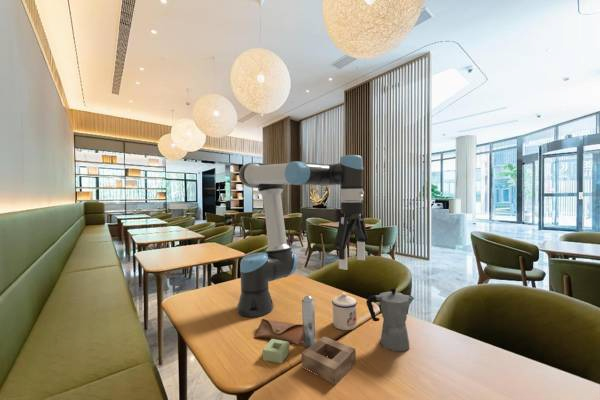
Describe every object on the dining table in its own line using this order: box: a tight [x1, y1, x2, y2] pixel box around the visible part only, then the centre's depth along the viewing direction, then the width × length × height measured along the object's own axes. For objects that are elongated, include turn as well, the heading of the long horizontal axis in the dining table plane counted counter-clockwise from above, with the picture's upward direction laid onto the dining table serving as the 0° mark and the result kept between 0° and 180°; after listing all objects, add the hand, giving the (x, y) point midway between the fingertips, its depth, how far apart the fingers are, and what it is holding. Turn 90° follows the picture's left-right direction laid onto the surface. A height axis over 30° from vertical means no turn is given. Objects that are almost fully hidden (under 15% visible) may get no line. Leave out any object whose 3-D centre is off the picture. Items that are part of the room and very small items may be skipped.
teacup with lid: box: [331, 292, 358, 331], centre depth 95 cm, size 12×9×12 cm
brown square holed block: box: [301, 336, 357, 386], centre depth 72 cm, size 11×11×4 cm
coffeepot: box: [365, 287, 415, 353], centre depth 81 cm, size 15×9×18 cm, turn 90°
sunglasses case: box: [252, 318, 303, 346], centre depth 88 cm, size 18×7×7 cm
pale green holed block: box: [262, 339, 290, 364], centre depth 77 cm, size 6×6×3 cm
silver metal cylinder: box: [301, 295, 316, 348], centre depth 83 cm, size 4×4×16 cm
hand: (352, 264), depth 86 cm, fingers open, 13 cm apart
